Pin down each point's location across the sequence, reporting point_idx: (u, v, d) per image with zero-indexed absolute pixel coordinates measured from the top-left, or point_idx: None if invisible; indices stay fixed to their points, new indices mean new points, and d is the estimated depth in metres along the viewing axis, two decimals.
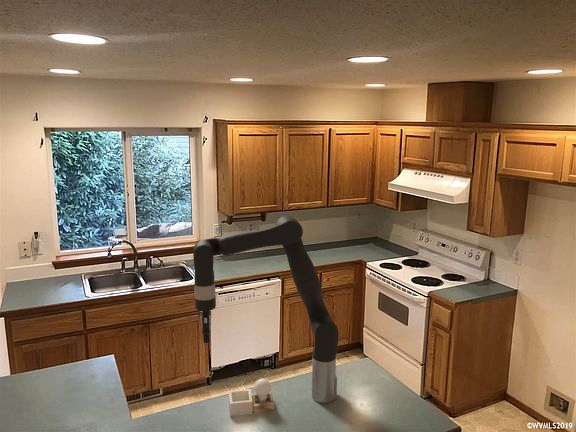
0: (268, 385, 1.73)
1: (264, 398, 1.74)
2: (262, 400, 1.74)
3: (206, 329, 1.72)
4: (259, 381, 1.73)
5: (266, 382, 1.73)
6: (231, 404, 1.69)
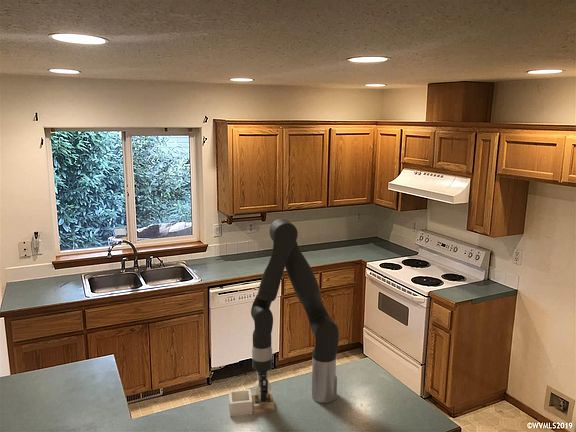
0: (268, 385, 1.73)
1: None
2: None
3: None
4: None
5: None
6: (231, 404, 1.69)
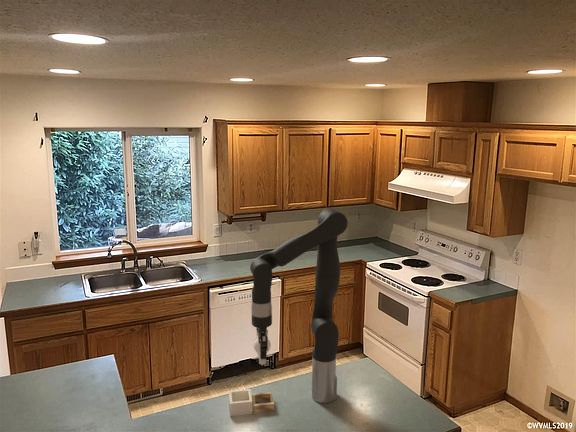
0: (268, 342, 1.69)
1: None
2: None
3: None
4: None
5: None
6: (231, 404, 1.69)
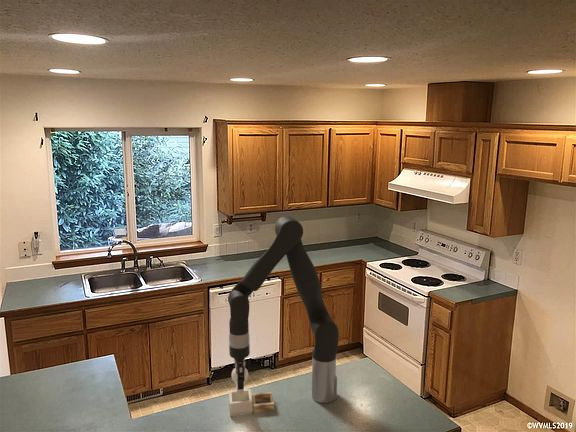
0: (245, 373, 1.70)
1: None
2: None
3: None
4: None
5: None
6: (231, 404, 1.69)
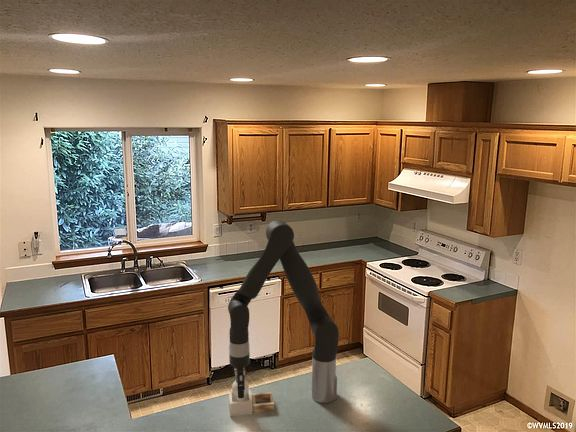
0: (246, 385, 1.71)
1: (242, 399, 1.72)
2: None
3: None
4: None
5: (244, 382, 1.71)
6: (231, 404, 1.69)
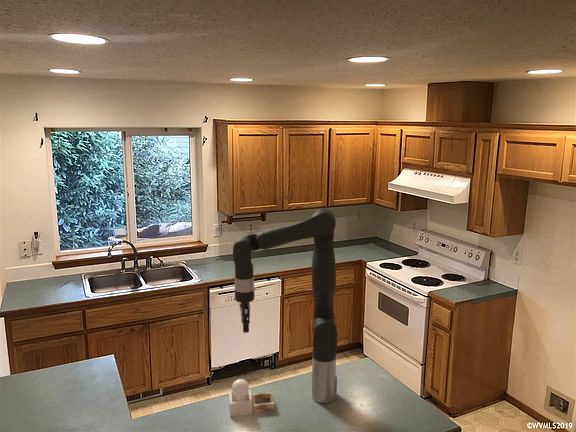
0: (246, 386, 1.71)
1: (242, 399, 1.72)
2: None
3: (244, 320, 1.83)
4: (237, 382, 1.71)
5: (244, 383, 1.71)
6: (231, 404, 1.69)
